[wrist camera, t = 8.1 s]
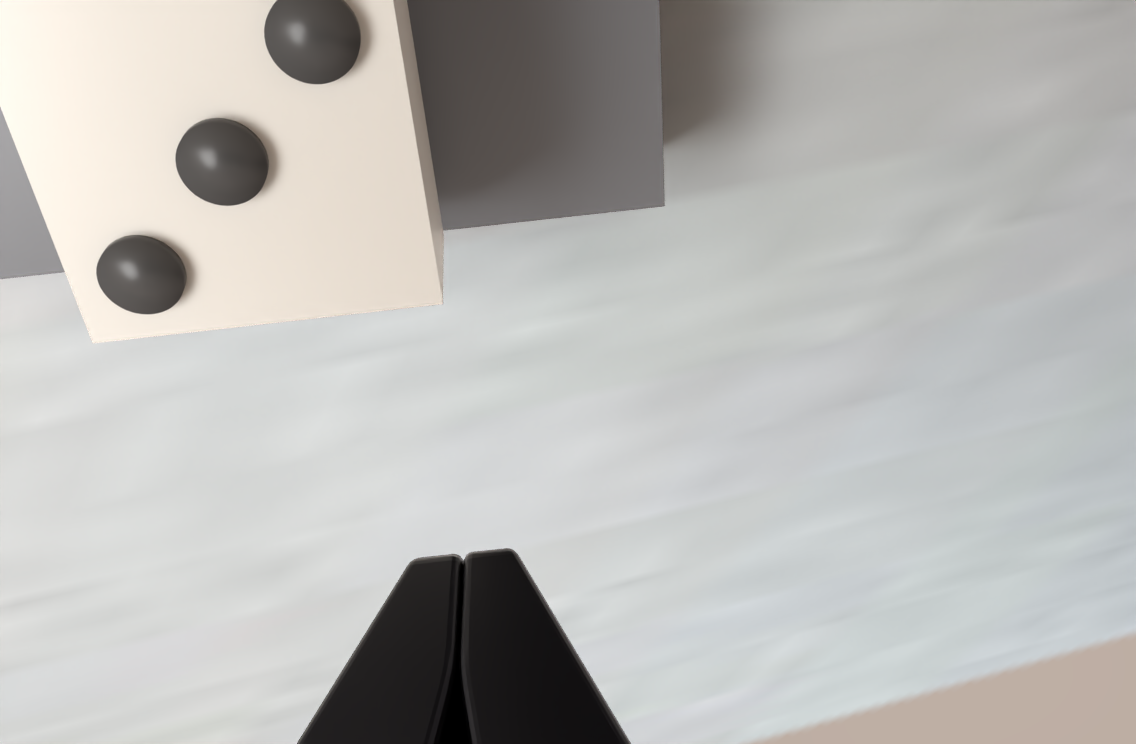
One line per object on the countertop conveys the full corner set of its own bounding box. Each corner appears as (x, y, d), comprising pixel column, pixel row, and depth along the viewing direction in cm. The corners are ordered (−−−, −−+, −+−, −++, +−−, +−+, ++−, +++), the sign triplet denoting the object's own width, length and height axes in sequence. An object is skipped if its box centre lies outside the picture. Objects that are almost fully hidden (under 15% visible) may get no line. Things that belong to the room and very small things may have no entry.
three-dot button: (391, -99, 13) (381, -59, 11) (443, 233, 15) (443, 309, 13) (17, -62, 12) (-56, -15, 11) (132, 267, 15) (89, 350, 13)
